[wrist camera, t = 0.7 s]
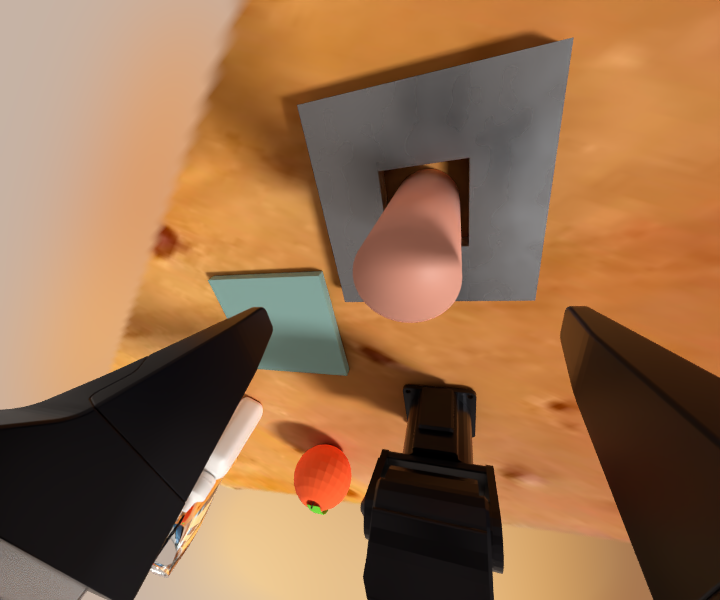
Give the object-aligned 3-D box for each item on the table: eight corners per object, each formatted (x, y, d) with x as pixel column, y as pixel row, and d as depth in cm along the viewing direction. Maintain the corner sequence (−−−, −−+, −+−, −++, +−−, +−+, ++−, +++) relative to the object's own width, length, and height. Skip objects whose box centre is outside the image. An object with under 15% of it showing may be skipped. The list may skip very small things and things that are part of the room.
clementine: (365, 471, 40) (350, 533, 34) (319, 465, 42) (298, 522, 37) (350, 435, 36) (330, 498, 30) (300, 430, 38) (273, 487, 33)
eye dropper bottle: (226, 402, 39) (153, 499, 30) (252, 393, 37) (180, 498, 27) (249, 422, 41) (185, 521, 31) (275, 415, 38) (214, 522, 29)
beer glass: (221, 435, 45) (137, 556, 33) (249, 461, 48) (180, 582, 36) (194, 437, 49) (108, 548, 37) (221, 462, 51) (150, 573, 39)
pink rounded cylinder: (460, 230, 19) (462, 323, 11) (399, 234, 21) (362, 321, 13) (459, 164, 17) (461, 221, 9) (391, 173, 19) (342, 231, 11)
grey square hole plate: (530, 288, 20) (535, 300, 19) (350, 291, 24) (345, 301, 23) (563, 42, 14) (573, 37, 12) (307, 104, 18) (297, 105, 16)
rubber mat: (349, 369, 30) (347, 375, 29) (256, 363, 33) (252, 368, 32) (322, 271, 24) (318, 275, 23) (213, 275, 27) (207, 280, 27)
